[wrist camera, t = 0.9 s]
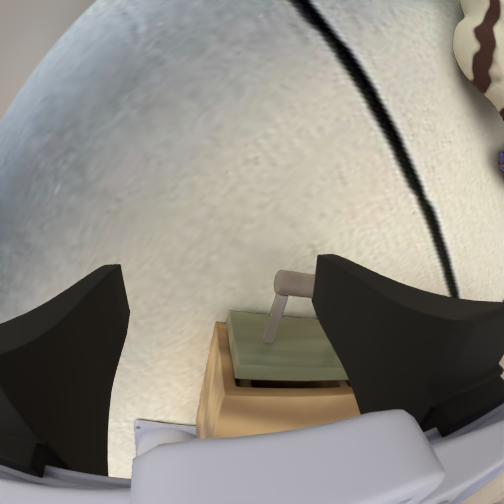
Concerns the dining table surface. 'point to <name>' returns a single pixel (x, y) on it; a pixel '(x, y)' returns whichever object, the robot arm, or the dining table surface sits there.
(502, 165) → the decorative rock
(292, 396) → the cabinet
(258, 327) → the drawer
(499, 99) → the sculpture
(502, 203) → the dining table surface
